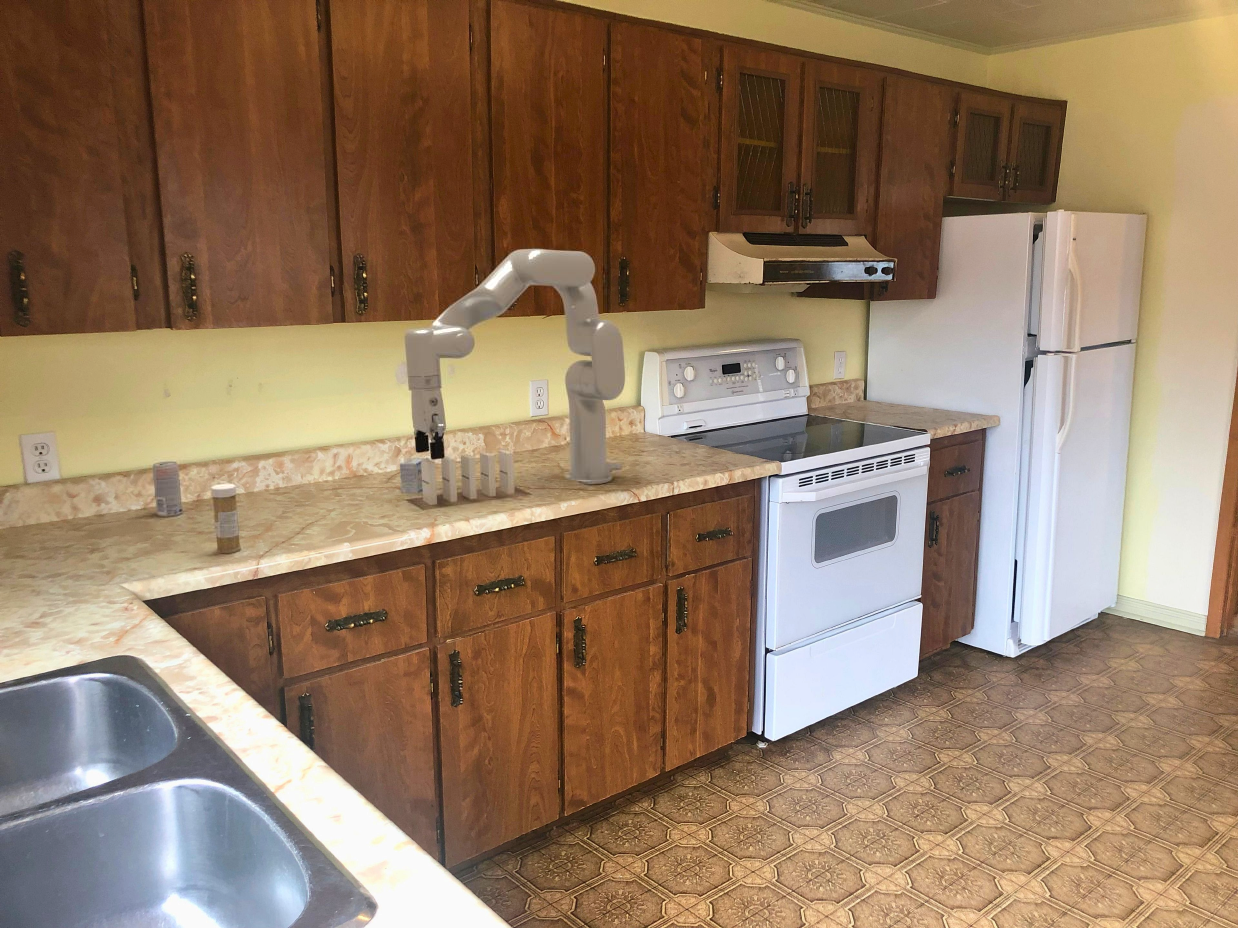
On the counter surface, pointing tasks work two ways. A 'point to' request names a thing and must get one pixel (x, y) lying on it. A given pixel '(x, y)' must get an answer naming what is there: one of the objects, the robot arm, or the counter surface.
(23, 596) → the counter surface
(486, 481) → the domino
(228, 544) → the sprinkles bottle
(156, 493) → the energy drink
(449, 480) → the domino
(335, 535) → the counter surface
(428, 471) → the domino
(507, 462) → the domino
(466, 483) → the domino
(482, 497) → the walnut board
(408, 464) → the medicine box
